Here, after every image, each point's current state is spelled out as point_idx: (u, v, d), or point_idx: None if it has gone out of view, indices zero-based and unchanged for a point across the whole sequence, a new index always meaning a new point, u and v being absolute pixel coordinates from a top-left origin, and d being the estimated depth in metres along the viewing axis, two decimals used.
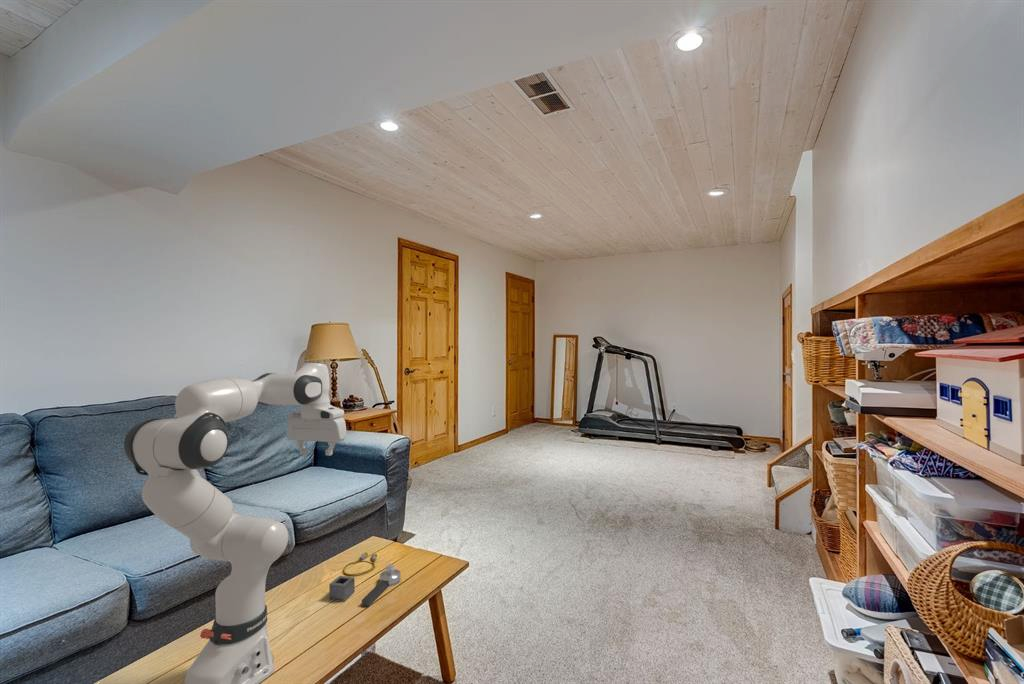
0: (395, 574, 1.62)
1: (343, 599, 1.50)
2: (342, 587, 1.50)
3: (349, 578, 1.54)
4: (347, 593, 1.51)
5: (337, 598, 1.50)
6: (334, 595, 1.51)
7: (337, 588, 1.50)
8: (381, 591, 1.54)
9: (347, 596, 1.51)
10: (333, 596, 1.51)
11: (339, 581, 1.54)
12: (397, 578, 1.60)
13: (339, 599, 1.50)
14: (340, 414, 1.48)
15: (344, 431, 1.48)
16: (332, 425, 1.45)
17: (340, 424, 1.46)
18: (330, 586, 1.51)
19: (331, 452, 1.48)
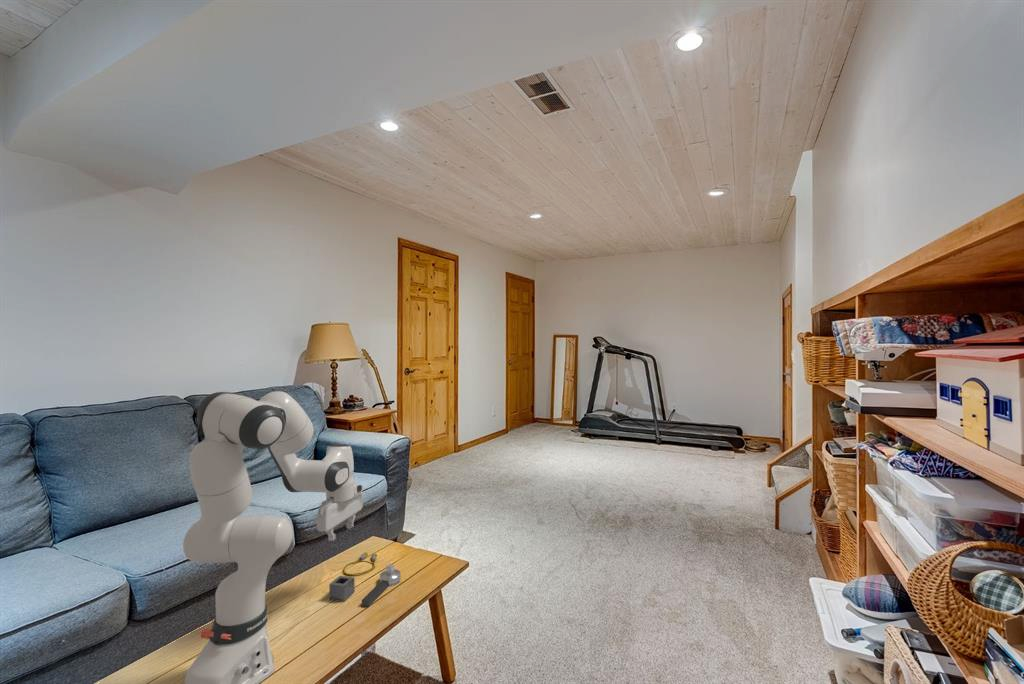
0: (395, 574, 1.62)
1: (343, 599, 1.50)
2: (342, 587, 1.50)
3: (349, 578, 1.54)
4: (347, 593, 1.51)
5: (337, 598, 1.50)
6: (334, 595, 1.51)
7: (337, 588, 1.50)
8: (381, 591, 1.54)
9: (347, 596, 1.51)
10: (333, 596, 1.51)
11: (339, 581, 1.54)
12: (397, 578, 1.60)
13: (339, 599, 1.50)
14: None
15: None
16: (359, 496, 1.60)
17: None
18: (330, 586, 1.51)
19: None
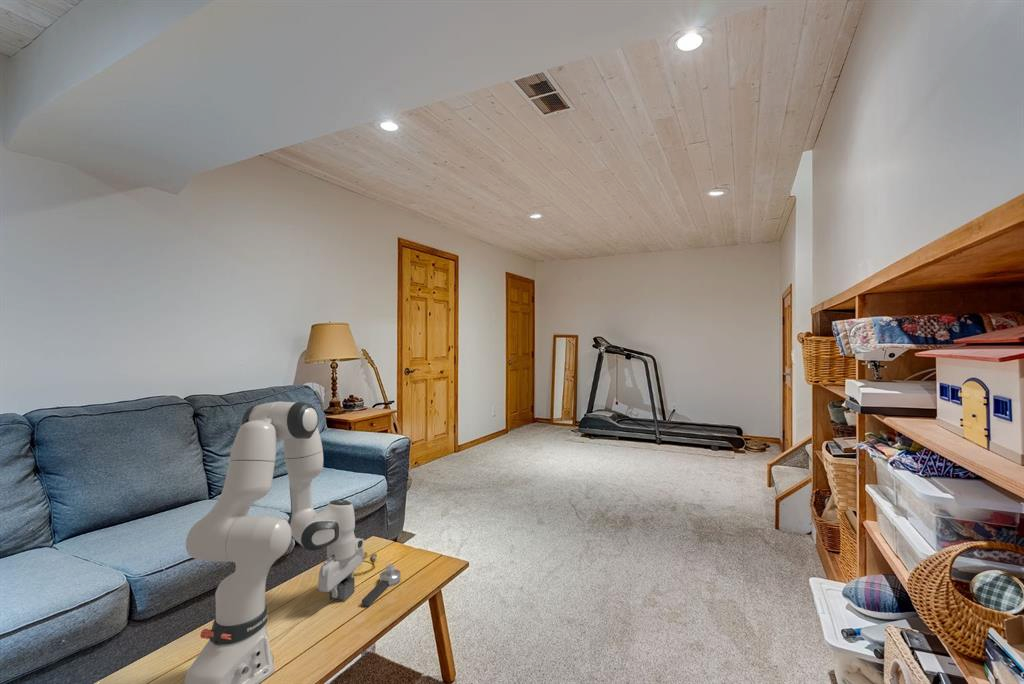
0: (395, 574, 1.62)
1: (343, 599, 1.50)
2: (342, 587, 1.50)
3: (349, 578, 1.54)
4: (347, 593, 1.51)
5: (337, 598, 1.50)
6: None
7: (337, 588, 1.50)
8: (381, 591, 1.54)
9: (347, 596, 1.51)
10: None
11: None
12: (397, 578, 1.60)
13: (339, 599, 1.50)
14: None
15: None
16: (359, 551, 1.60)
17: None
18: None
19: None
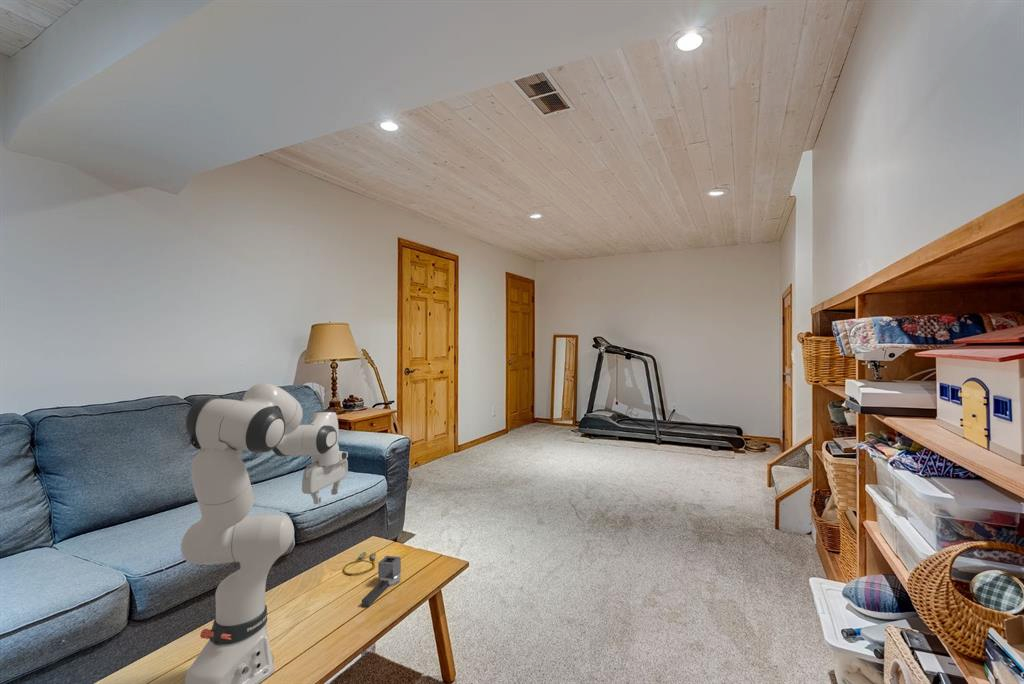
0: None
1: (392, 577, 1.59)
2: (390, 565, 1.59)
3: (396, 557, 1.63)
4: (395, 571, 1.60)
5: (386, 576, 1.59)
6: (382, 573, 1.59)
7: (386, 566, 1.59)
8: (381, 591, 1.54)
9: (395, 574, 1.60)
10: (382, 574, 1.60)
11: (386, 560, 1.63)
12: (397, 578, 1.60)
13: (388, 577, 1.59)
14: None
15: None
16: (344, 463, 1.64)
17: None
18: (379, 564, 1.60)
19: None
